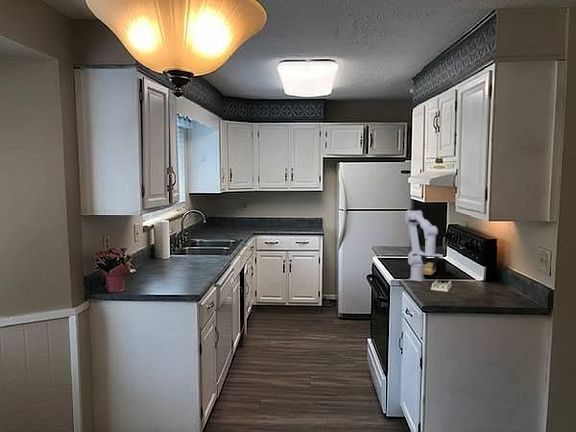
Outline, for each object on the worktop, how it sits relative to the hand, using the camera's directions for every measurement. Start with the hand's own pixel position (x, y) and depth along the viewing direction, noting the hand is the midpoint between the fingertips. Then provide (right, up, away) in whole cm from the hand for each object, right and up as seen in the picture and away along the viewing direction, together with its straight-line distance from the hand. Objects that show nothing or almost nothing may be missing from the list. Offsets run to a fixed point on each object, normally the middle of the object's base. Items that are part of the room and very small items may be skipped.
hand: (429, 269), depth 265 cm
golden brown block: (0, -2, 0) cm, 2 cm away
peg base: (+6, -11, -2) cm, 13 cm away
